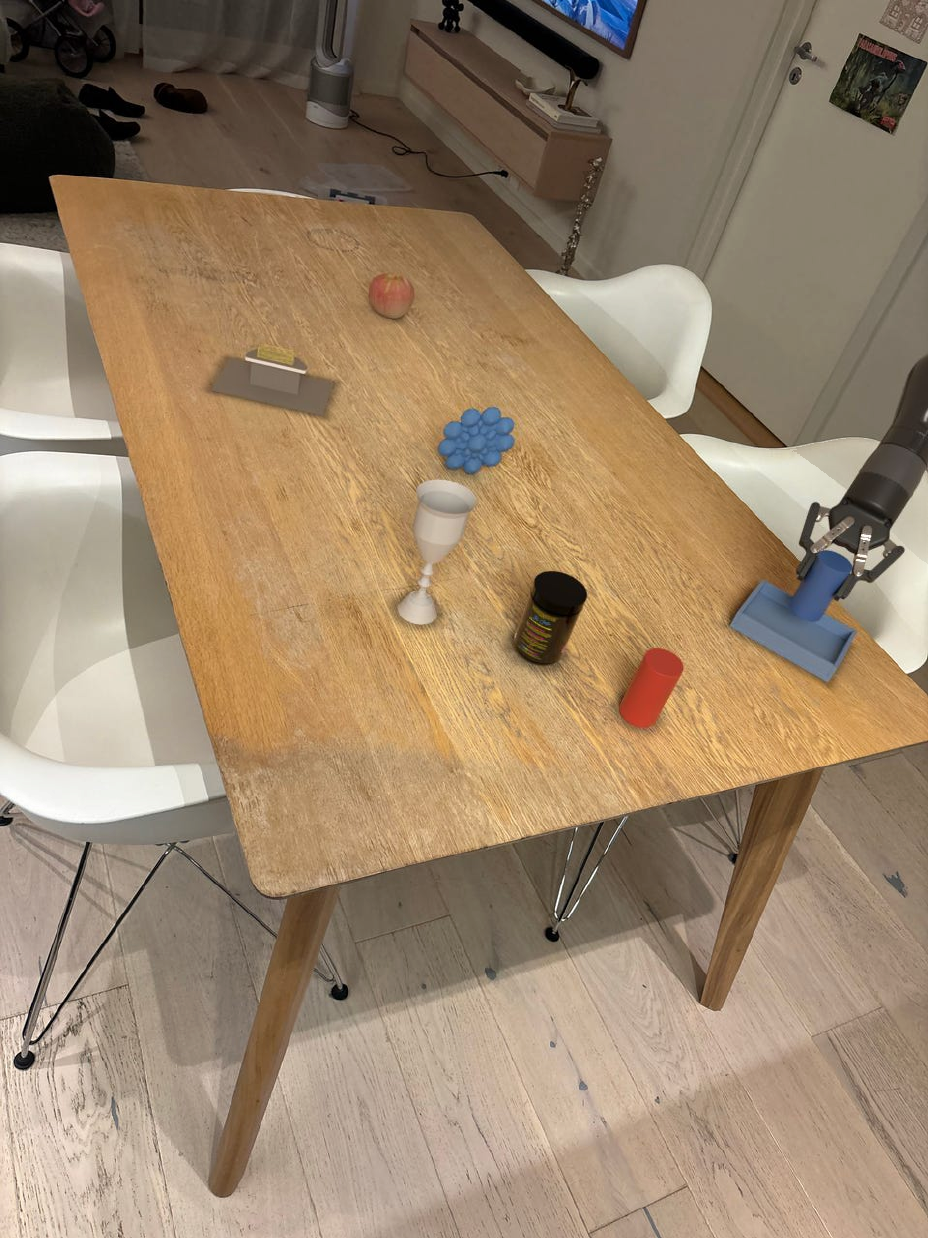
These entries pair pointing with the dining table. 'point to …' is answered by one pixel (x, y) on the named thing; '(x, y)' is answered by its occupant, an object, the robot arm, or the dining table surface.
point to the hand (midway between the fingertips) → (818, 588)
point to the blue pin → (820, 585)
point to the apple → (391, 295)
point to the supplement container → (549, 617)
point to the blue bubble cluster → (476, 440)
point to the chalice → (435, 538)
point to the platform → (274, 381)
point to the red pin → (651, 687)
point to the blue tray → (793, 631)
